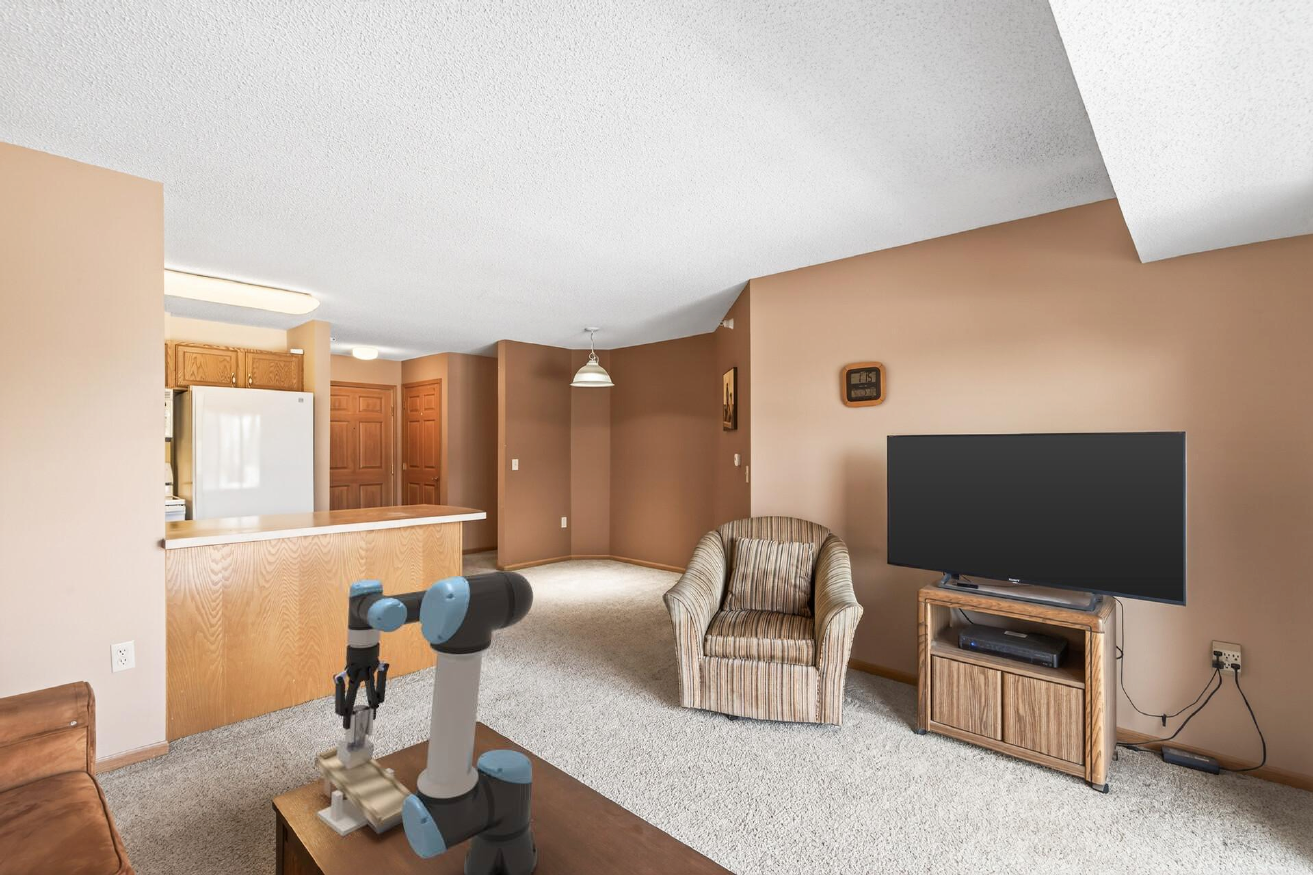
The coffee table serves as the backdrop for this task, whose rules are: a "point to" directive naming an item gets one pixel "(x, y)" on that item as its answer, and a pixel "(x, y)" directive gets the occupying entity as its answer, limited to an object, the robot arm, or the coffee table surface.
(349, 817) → the stand
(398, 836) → the coffee table surface
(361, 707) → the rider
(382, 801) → the beam
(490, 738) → the coffee table surface
